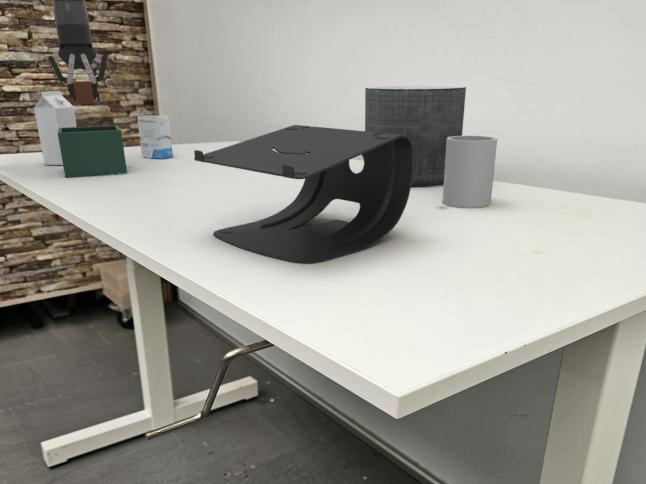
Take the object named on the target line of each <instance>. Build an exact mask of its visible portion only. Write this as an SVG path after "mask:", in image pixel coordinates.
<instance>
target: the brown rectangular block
mask: <svg viewBox="0 0 646 484" xmlns="http://www.w3.org/2000/svg"><path fill="white" fill-rule="evenodd" d="M72 81H73V84H74V90H75V96H76V101H75V102H76V105H95V100H94V98H93V91H92V85H91V80H72Z"/></svg>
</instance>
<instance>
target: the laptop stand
mask: <svg viewBox="0 0 646 484" xmlns="http://www.w3.org/2000/svg"><path fill="white" fill-rule="evenodd" d="M193 153H194V158H193V159H194V161H195V162H201V163H206V164H213V165H218V166H224V167H229V168H234V169H239V170H244V171H249V172H255V173H260V174H267V175H272V176H277V177H281V178H287V179H292V180H304V181H303V183H302V184H303V185H302V186H301V189H300V190H299V192H298V194H297V196H296V197H295V199H294V200H292V202H290V203H289V204H288V205H287V206H286V207H284V208H283V209H281V210H280V211H278V212H276V213H274V214H273V215H270V216H267V217H266V218H263V219H260V220H255V221H253V222H247V223H242V224H239V225H233V226H228V227H224V228H220V229H217V230H214V231H213V233H212V234H213V236H214V237H215V238H217V239H219V240H220V241H222V242H225V243H227V244H229V245H232V246H235V247H237V248H240V249H243V250H246V251H249V252H251V253H255V254H258V255H262V256H266V257H270V258H274V259H278V260H282V261H286V262H291V263H297V264H317V263H320V262H321V263H322V262H326V261H330V260H333V259H336V258H340V257H344V256H348V255H351V254H355V253H359V252H361V251H363V250H365V249H367V248H369V247H372V246H374V245H375V244H376V243H378V242H380V241H381V240H382V239H384V238H385V237H386V236H387V235H388V234H389V233H390V232H391V231H392V230H394V228H395V227H396V225H397V224H398V223H399V222H400V220H401V217H402V215H403V214H404V212H405V209H406V207H407V204H408V201H409V198H410V193H411V188H412V186H411V184H412V176H413V146H412V142H411V140H410V139H409V138H408V137H407V136H406V135H399V134H388V133H384V134H382V133H378V132H367V131H365V130H354V129H344V128H332V127H322V126H311V125H300V124H294V125H290V126H287V127H284V128H280V129H278V130H274V131H272V132H268V133H265V134H262V135H259V136H255V137H253V138H250V139H246V140H243V141H240V142H238V143H235V144H231V145H228V146H225V147H222V148H219V149H215V150H212V151H210V152H206V153H204V152H203V151H202V150H198V149H195V150H193ZM359 156H362V158H363V167H362V168H361V171H360V172H357V173H356V172H354V171H353V170H352V168H351V165H350V160H352V159H355V158H357V157H359ZM334 200H335V201H336V200H339V201H340V200H341V201H345V202H350V203H351V202H352V203H356V204H359V210H358V212H357V214H356V215H354V218H352V219H351V220H350V221H346V220H341V219H331V220H327V221H326V220H325V221H322V222H317V223H314V224H309V225H305V224H307V223H309V222H310V221H311V220H313V219H315V218H316V217H317V216H318V215H319V214H321V213H322V212H323V211H324V210H325V209H326V208H327V207H328V205H330V203H331V202H333V201H334ZM303 225H305V226H303Z"/></svg>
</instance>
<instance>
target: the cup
mask: <svg viewBox="0 0 646 484" xmlns="http://www.w3.org/2000/svg"><path fill="white" fill-rule="evenodd" d="M497 145H498V137H494V136H487V135H462V136H452V137H447V143H446V158H445V172H444V184H443V188H442V204H443V205H446V206H450V207H454V208H455V207H456V208H466V209H477V208H485V207H489V206H490V205H491V204H492V196H493V195H492V194H493V186H494V185H493V183H494V174H495V165H496V164H495V163H496V156H497V155H496V154H497Z"/></svg>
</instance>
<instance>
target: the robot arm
mask: <svg viewBox="0 0 646 484" xmlns="http://www.w3.org/2000/svg"><path fill="white" fill-rule="evenodd" d="M52 3H53V4H52V5H53V6H52V7H53V8H52V9H53V17H54V18H53V19H54V23H55V30H56V34H57V40H58V46H59V47H58V52H57V53H55V54H53V55H49V56H48V57H47V59H48V62H49V63H50V65H51V67H52V69H53V72H54V73H55V76H56V77H57V79H58V81H59V82H62V83H65V84H66V85H67V90H68V95H69V97H70V99H72V100H73V101H74V102H76V96H75V90H74V84H73V81H74V70H77V71H78V70H79V69H80V70H85V71H86V73H87V75H88V78H89V81H91V85H92V91H93V98H94V101H97V98H99V91H98V90H99V89H98V83H100V82H102V81H104V78H105V74H106V67H107V62H108V57H107V55H106V54H105V55H103V54H99V53H97V52H96V50H95V49H94V46H93V40H92V39H93V38H92V33H91V26H90V18H89V14H88V9H87V5H86V1H85V0H52ZM95 58H96V59H97V63H98V64H99V69H98V74H97V75H96V76H95V74H94V71H93V70H92V64H93V62H94V60H95ZM60 59H61V60H62V61H63V62H64V63H65V64H66V66H67V75H66V76H67V77H65V76H63V73H62V71H61V69H60V67H59V66H58V65H59V64H60Z"/></svg>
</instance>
